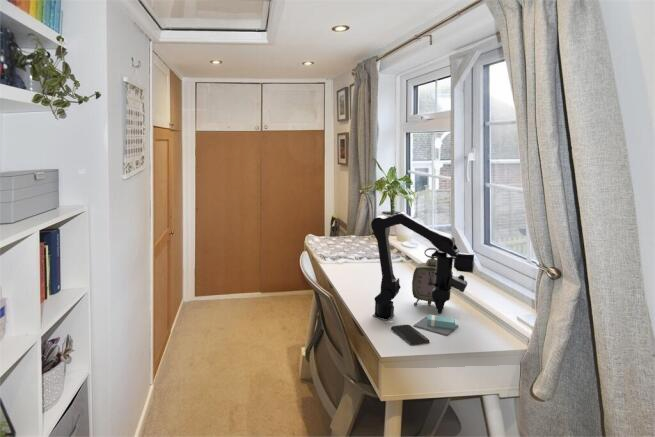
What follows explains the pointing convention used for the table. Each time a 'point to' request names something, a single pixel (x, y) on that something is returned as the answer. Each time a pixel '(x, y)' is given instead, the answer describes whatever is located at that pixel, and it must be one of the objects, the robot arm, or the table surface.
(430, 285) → the tabletop clock
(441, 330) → the felt mat
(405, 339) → the phone
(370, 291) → the table surface
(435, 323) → the box
